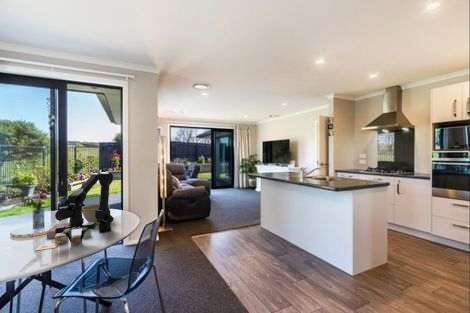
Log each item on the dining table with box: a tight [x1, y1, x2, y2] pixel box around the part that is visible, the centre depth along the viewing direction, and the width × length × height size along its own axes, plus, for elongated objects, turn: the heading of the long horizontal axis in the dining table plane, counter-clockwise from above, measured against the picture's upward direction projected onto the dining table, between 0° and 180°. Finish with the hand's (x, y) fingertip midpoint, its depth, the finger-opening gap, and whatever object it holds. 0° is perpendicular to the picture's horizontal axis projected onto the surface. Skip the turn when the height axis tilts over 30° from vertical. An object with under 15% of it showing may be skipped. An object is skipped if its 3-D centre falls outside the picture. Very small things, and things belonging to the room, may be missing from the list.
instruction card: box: [34, 242, 60, 252], centre depth 127 cm, size 9×7×1 cm
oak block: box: [54, 233, 69, 244], centre depth 135 cm, size 5×5×4 cm
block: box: [83, 229, 92, 239], centre depth 143 cm, size 4×4×4 cm
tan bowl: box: [82, 203, 111, 225], centre depth 169 cm, size 18×18×12 cm
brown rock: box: [46, 222, 70, 239], centre depth 148 cm, size 16×8×5 cm, turn 21°
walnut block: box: [70, 234, 83, 247], centre depth 131 cm, size 4×4×4 cm
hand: (76, 242), depth 131 cm, fingers closed on walnut block, 4 cm apart
